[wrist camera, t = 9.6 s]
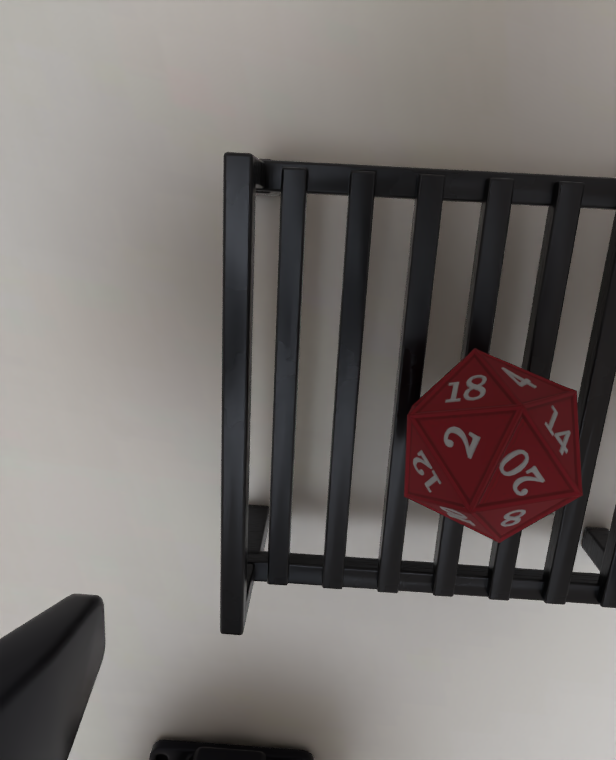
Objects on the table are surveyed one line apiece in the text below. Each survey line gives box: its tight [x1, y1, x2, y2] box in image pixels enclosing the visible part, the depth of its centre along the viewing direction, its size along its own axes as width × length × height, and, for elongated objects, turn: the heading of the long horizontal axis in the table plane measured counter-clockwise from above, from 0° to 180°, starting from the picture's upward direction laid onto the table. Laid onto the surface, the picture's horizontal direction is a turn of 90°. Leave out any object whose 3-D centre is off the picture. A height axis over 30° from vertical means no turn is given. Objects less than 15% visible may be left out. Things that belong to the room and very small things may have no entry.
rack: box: [220, 152, 616, 635], centre depth 15 cm, size 12×12×6 cm
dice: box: [404, 348, 583, 543], centre depth 13 cm, size 4×4×4 cm
